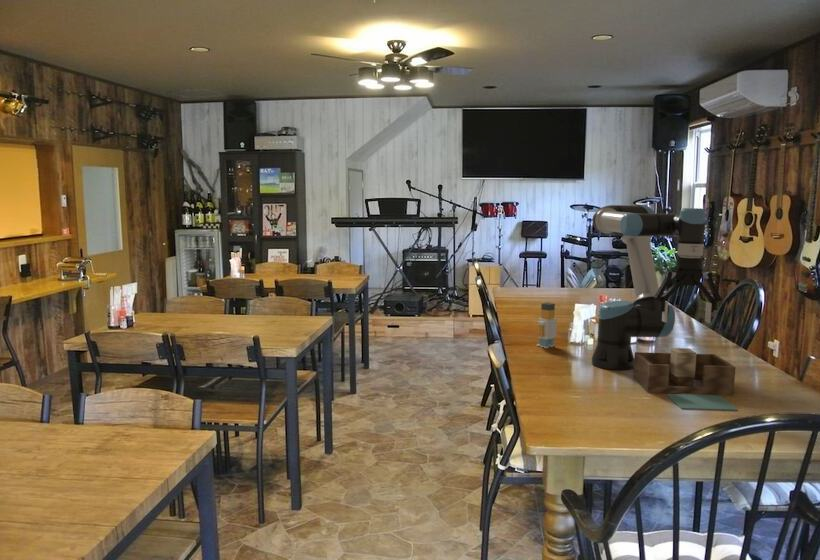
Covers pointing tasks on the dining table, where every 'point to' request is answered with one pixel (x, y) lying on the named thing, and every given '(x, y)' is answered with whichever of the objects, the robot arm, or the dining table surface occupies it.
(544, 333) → the character figure
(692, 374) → the block
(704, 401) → the mat
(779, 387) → the dining table surface
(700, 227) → the robot arm
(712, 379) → the crate
